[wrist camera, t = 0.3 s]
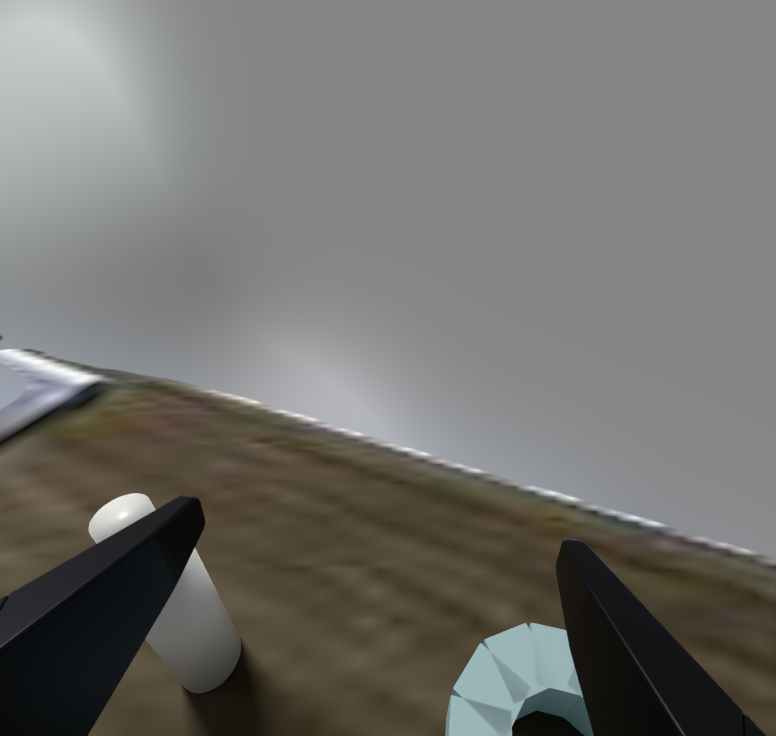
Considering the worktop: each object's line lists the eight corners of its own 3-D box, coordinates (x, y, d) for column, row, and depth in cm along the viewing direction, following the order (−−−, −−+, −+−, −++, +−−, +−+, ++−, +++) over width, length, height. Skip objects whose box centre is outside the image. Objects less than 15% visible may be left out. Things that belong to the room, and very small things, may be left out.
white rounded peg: (219, 700, 19) (122, 565, 12) (165, 684, 20) (45, 546, 13) (251, 631, 22) (186, 488, 15) (203, 619, 22) (119, 476, 16)
